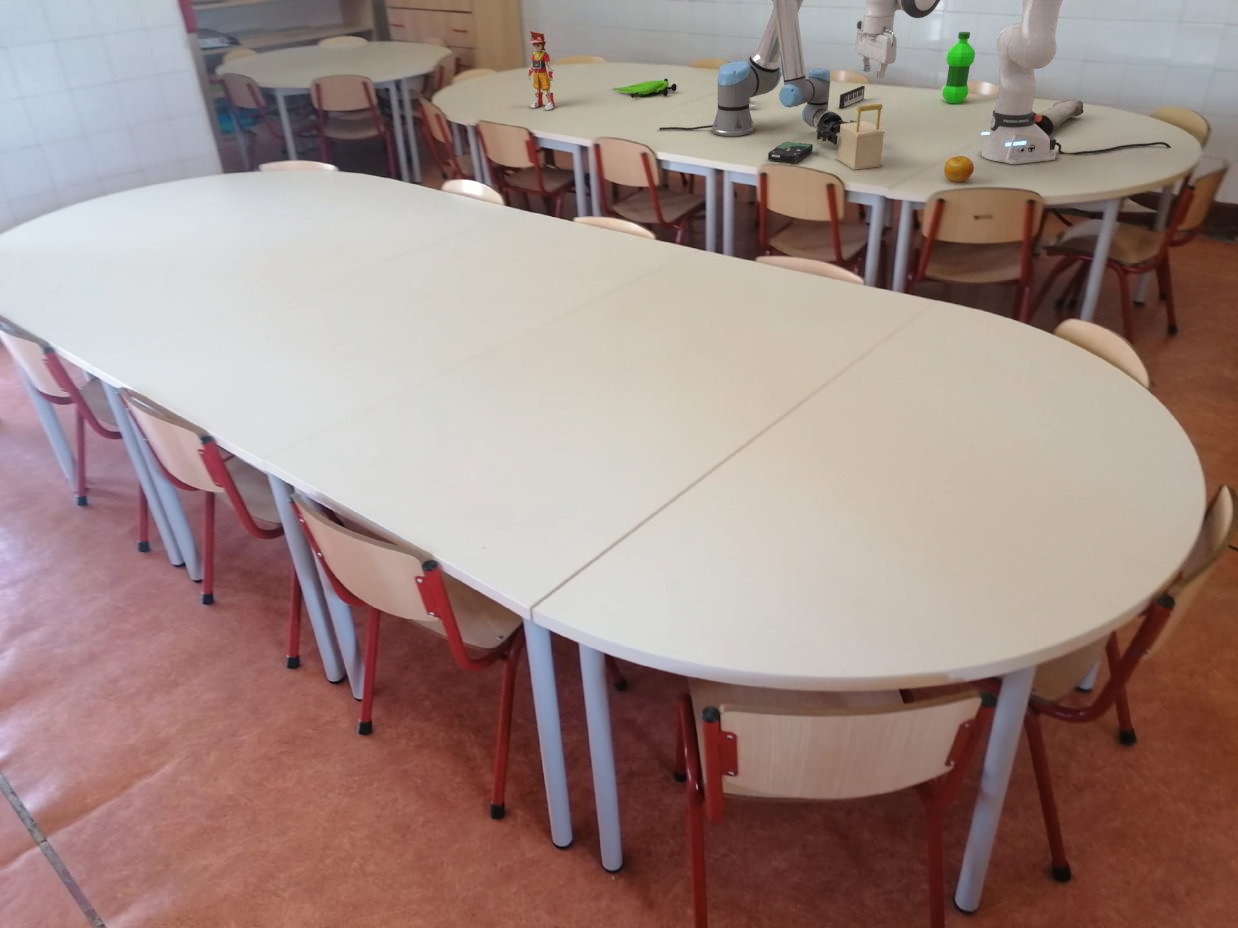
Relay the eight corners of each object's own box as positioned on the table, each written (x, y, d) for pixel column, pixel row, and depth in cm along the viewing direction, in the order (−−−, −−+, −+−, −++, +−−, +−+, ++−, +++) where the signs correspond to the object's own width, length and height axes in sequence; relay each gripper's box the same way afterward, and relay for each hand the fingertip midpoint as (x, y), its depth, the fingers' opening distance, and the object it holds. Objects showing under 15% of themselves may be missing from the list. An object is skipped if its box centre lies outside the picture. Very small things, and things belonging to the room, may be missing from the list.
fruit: (938, 171, 273) (955, 148, 270) (938, 174, 281) (955, 151, 278) (961, 187, 272) (979, 164, 269) (961, 189, 280) (978, 166, 277)
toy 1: (525, 109, 381) (517, 32, 364) (534, 104, 388) (527, 28, 371) (550, 110, 377) (543, 32, 360) (559, 105, 384) (553, 28, 367)
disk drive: (796, 164, 299) (812, 151, 309) (796, 156, 298) (813, 143, 308) (767, 161, 304) (784, 148, 314) (767, 152, 302) (785, 140, 312)
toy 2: (686, 85, 398) (631, 84, 414) (685, 72, 395) (629, 72, 411) (651, 104, 381) (596, 103, 397) (650, 92, 378) (594, 91, 394)
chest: (880, 166, 293) (883, 133, 287) (854, 169, 291) (857, 136, 285) (862, 156, 303) (865, 124, 297) (837, 159, 302) (840, 127, 296)
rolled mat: (1050, 105, 332) (1075, 87, 323) (1064, 125, 332) (1089, 108, 324) (1018, 127, 314) (1043, 109, 306) (1032, 149, 315) (1057, 131, 306)
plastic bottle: (973, 101, 354) (984, 32, 339) (955, 106, 349) (966, 36, 335) (952, 97, 361) (962, 29, 346) (934, 102, 356) (944, 33, 342)
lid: (884, 133, 286) (887, 105, 281) (858, 137, 285) (860, 109, 280) (865, 123, 297) (868, 96, 292) (840, 127, 296) (842, 99, 291)
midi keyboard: (841, 108, 355) (842, 95, 352) (838, 108, 356) (840, 94, 353) (863, 99, 366) (865, 86, 363) (860, 98, 366) (862, 86, 364)
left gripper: (859, 129, 319) (888, 145, 302) (794, 137, 315) (819, 153, 298) (862, 107, 315) (891, 122, 298) (795, 115, 311) (821, 130, 294)
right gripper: (904, 30, 262) (898, 80, 270) (872, 19, 279) (868, 67, 287) (884, 32, 261) (879, 82, 269) (853, 21, 278) (849, 69, 286)
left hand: (855, 137), depth 298 cm, fingers open, 13 cm apart
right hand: (873, 74), depth 278 cm, fingers open, 8 cm apart
